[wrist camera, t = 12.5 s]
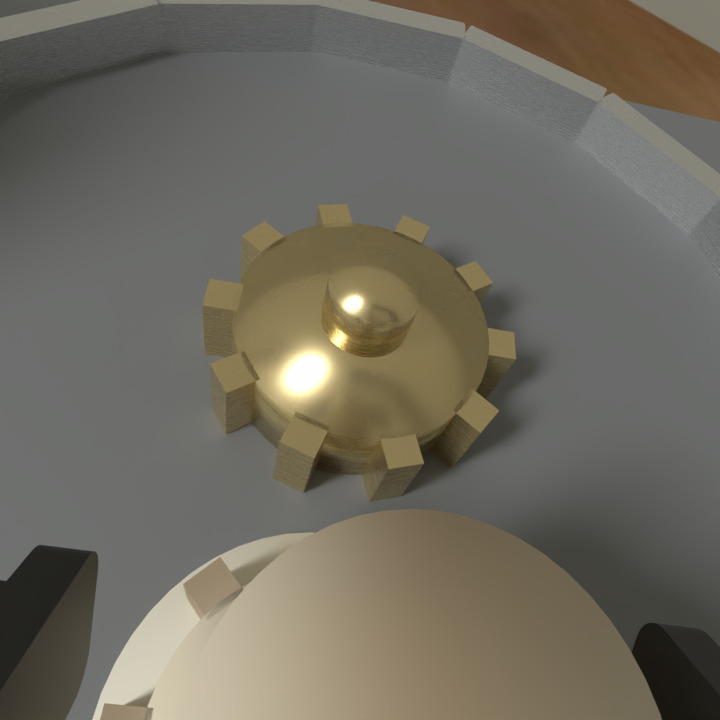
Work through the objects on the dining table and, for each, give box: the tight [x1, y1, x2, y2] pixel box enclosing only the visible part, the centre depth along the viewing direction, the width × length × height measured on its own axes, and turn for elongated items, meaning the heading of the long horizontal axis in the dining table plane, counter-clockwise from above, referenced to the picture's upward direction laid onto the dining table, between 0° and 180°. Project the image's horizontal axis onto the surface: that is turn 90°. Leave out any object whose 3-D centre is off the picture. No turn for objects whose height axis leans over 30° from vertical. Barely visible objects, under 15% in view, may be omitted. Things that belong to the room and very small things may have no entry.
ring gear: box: [0, 0, 720, 278], centre depth 18 cm, size 33×33×2 cm
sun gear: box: [202, 204, 516, 502], centre depth 17 cm, size 8×8×4 cm
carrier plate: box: [0, 0, 720, 720], centre depth 19 cm, size 34×34×1 cm
